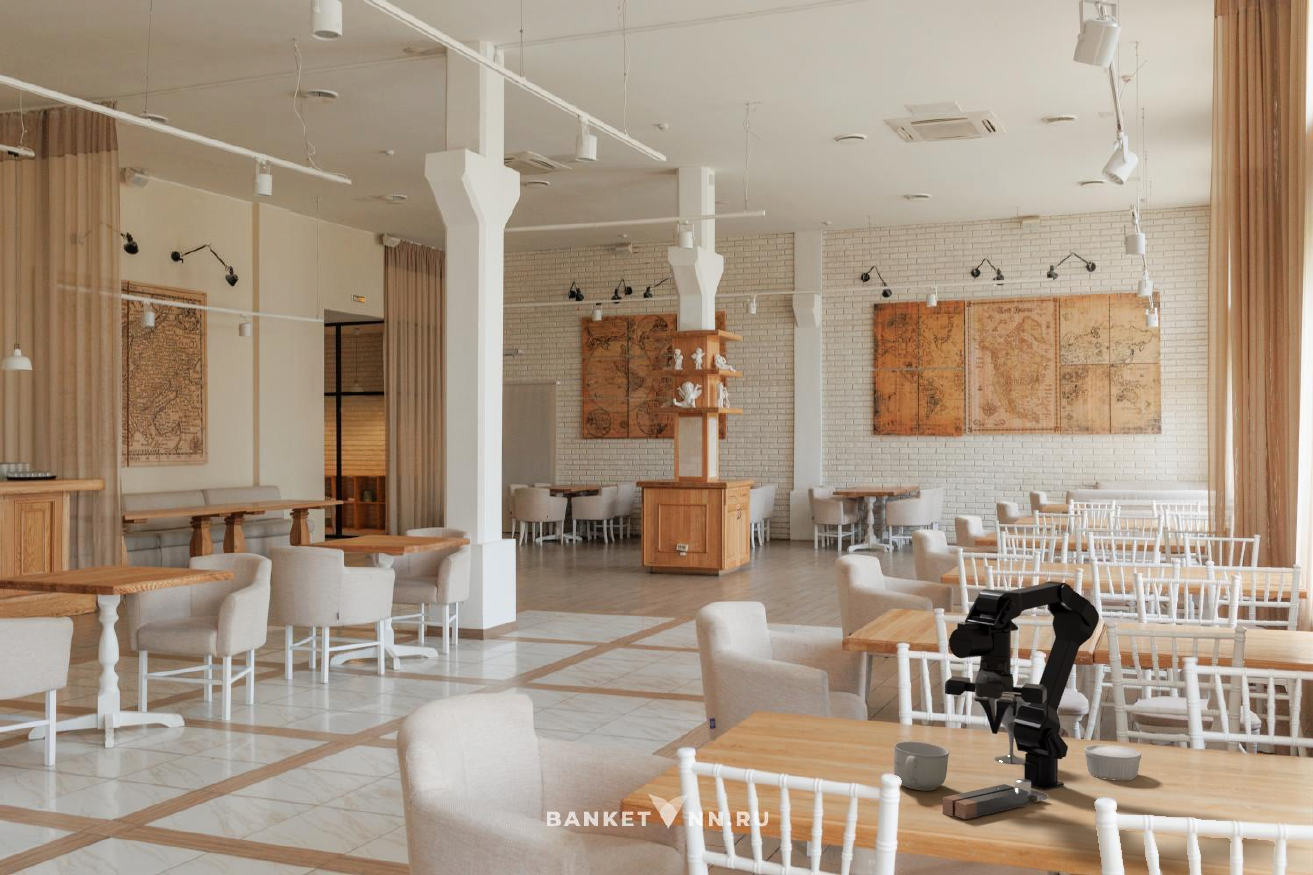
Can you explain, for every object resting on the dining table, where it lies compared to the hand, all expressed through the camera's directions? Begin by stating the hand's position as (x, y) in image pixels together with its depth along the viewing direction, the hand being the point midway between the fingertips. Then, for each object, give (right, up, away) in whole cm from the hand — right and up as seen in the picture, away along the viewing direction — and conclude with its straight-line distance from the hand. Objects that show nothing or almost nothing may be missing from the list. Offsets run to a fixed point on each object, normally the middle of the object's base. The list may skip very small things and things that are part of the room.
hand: (995, 733), depth 227 cm
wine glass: (+11, -13, +26) cm, 31 cm away
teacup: (-14, -12, +4) cm, 19 cm away
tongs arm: (-4, -11, -12) cm, 17 cm away
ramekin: (+29, -13, +15) cm, 35 cm away
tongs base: (-2, -12, -9) cm, 15 cm away
